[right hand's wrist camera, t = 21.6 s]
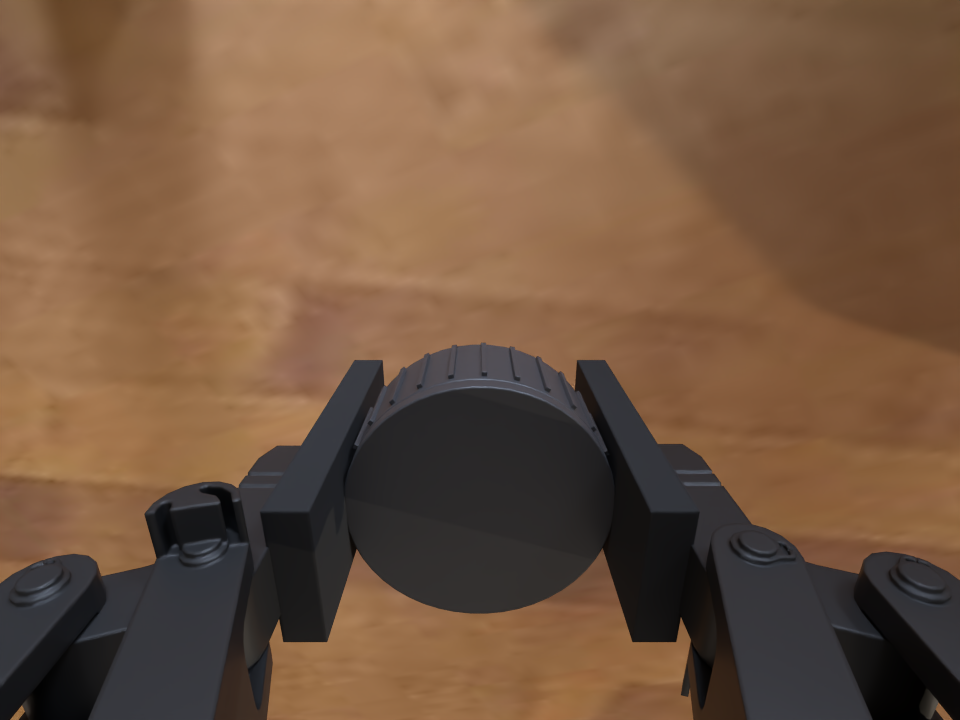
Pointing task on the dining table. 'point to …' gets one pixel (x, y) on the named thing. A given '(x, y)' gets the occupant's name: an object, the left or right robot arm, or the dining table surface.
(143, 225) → the dining table surface
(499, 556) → the lid
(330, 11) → the dining table surface
